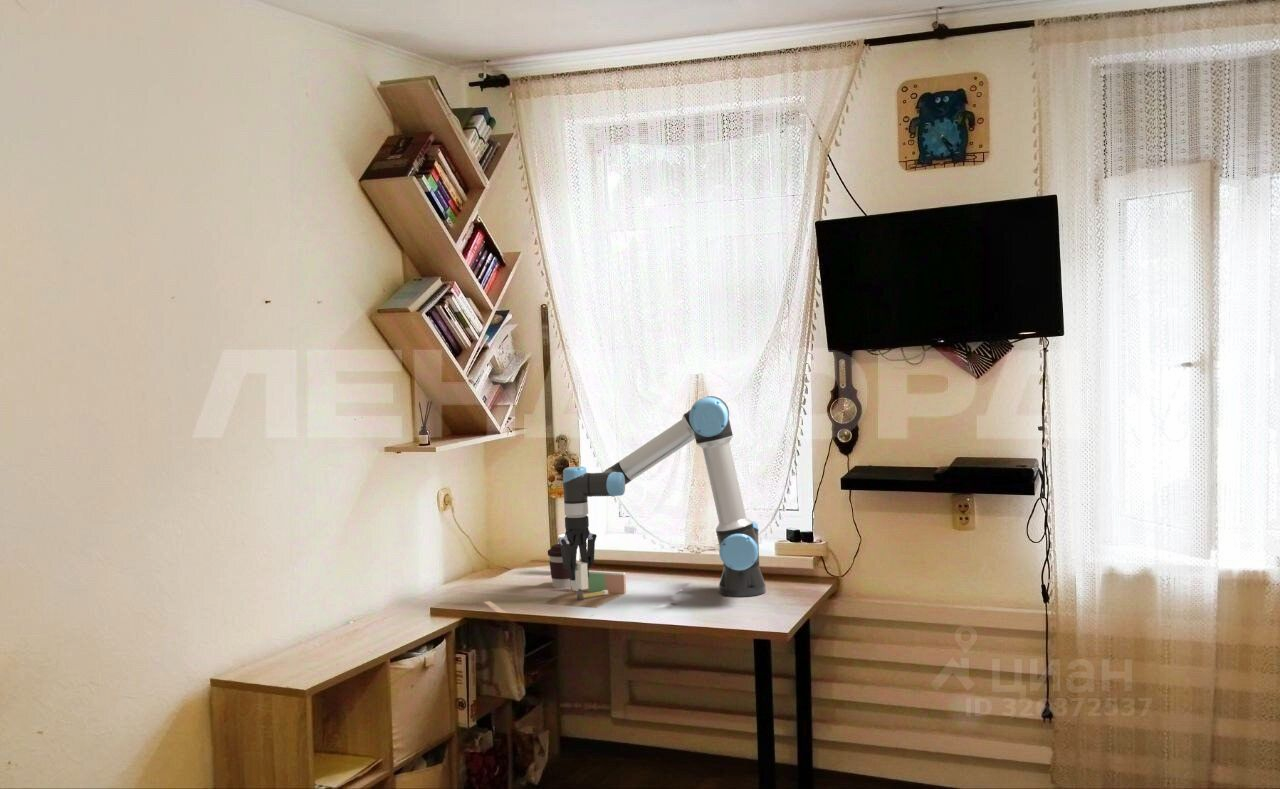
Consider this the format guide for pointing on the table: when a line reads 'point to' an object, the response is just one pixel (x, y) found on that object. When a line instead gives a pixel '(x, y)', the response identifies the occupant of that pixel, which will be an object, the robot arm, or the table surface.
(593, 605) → the board
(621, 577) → the scale wall
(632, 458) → the robot arm
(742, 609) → the table surface
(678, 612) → the table surface
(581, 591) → the white block with rod
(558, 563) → the coffee cup
